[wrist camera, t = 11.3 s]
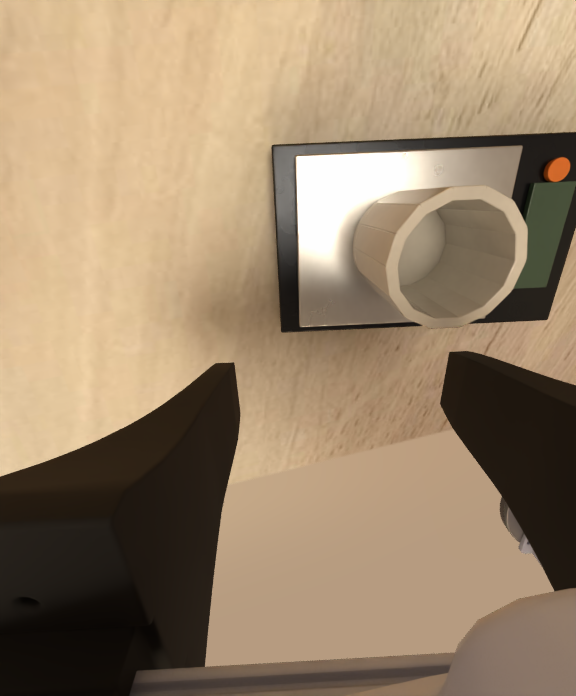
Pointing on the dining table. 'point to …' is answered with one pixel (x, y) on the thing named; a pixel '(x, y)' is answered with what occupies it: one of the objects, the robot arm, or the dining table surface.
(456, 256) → the pot
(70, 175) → the dining table surface
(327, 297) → the scale
